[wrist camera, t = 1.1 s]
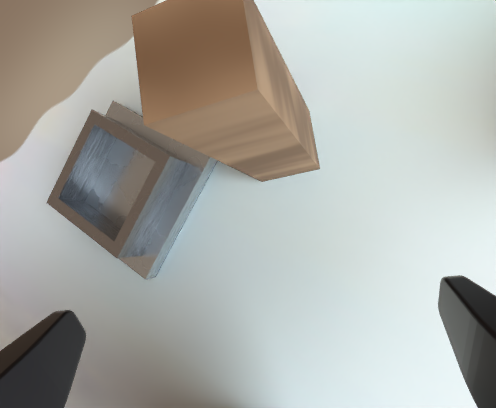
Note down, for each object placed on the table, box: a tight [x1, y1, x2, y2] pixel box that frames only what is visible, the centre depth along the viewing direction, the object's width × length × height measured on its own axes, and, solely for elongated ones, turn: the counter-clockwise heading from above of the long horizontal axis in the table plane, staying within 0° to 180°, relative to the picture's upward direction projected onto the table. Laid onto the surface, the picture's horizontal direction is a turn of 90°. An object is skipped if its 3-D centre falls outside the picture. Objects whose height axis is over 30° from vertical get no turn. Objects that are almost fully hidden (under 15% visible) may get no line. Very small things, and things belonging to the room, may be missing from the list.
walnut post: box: [132, 0, 320, 182], centre depth 17 cm, size 4×4×13 cm
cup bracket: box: [47, 101, 218, 279], centre depth 25 cm, size 10×10×4 cm
